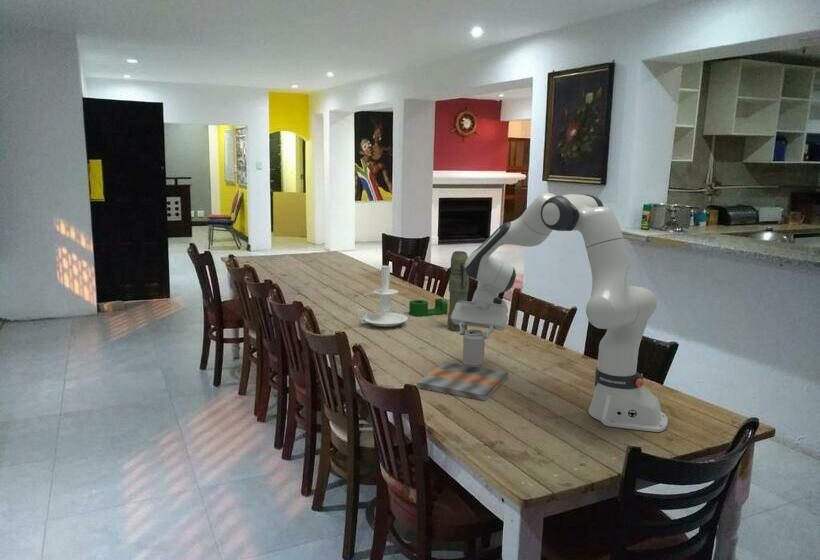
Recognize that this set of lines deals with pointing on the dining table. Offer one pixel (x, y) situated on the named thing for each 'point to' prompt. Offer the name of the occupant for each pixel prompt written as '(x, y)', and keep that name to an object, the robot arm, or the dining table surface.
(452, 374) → the grey orange flat square
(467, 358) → the can
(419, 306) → the slotted cylinder bracket
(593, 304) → the robot arm
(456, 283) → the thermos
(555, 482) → the dining table surface
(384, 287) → the candlestick
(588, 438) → the dining table surface
